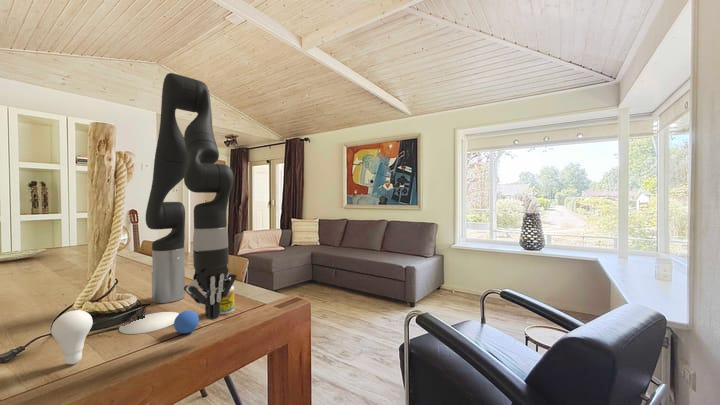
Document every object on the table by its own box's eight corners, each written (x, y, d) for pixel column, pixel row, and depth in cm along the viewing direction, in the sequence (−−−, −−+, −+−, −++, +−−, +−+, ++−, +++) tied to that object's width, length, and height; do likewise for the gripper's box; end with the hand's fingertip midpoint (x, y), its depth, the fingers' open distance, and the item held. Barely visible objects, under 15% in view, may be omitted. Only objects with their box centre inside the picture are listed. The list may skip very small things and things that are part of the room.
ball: (169, 335, 73) (168, 313, 73) (190, 326, 78) (189, 305, 78) (183, 339, 70) (182, 316, 70) (203, 330, 75) (203, 309, 75)
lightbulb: (71, 356, 63) (69, 306, 63) (101, 355, 64) (100, 305, 64) (42, 373, 57) (41, 317, 57) (76, 371, 58) (75, 316, 57)
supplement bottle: (232, 306, 92) (232, 276, 92) (236, 312, 87) (235, 280, 87) (214, 310, 89) (213, 279, 89) (216, 316, 84) (215, 283, 84)
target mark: (107, 328, 77) (107, 327, 77) (162, 309, 90) (162, 308, 90) (138, 338, 71) (138, 337, 71) (192, 317, 84) (192, 316, 84)
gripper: (223, 242, 77) (225, 307, 77) (173, 250, 65) (175, 327, 65) (244, 243, 74) (245, 311, 74) (195, 252, 62) (197, 332, 62)
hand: (212, 318), depth 70 cm, fingers closed
